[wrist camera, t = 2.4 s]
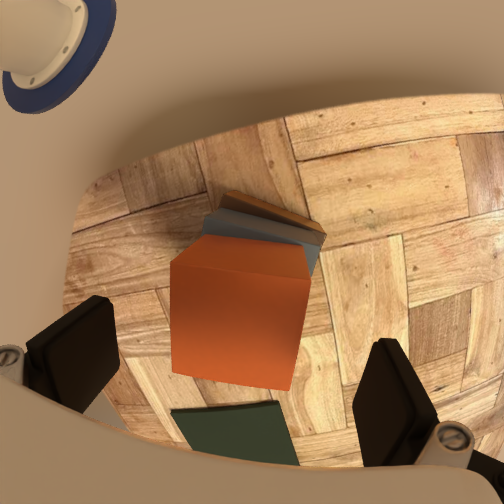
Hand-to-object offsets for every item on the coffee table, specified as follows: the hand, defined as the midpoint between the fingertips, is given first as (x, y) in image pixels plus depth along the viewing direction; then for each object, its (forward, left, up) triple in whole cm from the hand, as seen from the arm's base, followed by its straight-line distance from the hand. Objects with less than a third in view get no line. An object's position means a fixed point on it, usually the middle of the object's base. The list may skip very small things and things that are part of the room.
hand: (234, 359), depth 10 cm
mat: (+13, -21, -14) cm, 28 cm away
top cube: (0, 0, -6) cm, 6 cm away
